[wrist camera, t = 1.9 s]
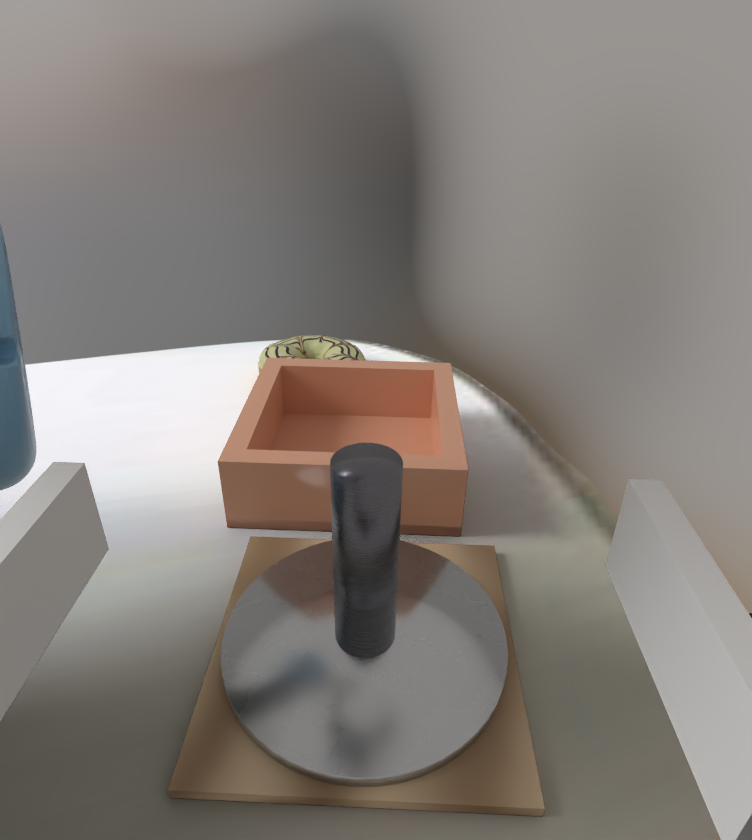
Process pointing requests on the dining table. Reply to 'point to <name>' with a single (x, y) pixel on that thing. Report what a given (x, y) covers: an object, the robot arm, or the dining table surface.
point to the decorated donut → (311, 349)
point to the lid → (364, 644)
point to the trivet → (437, 791)
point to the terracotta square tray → (344, 442)
